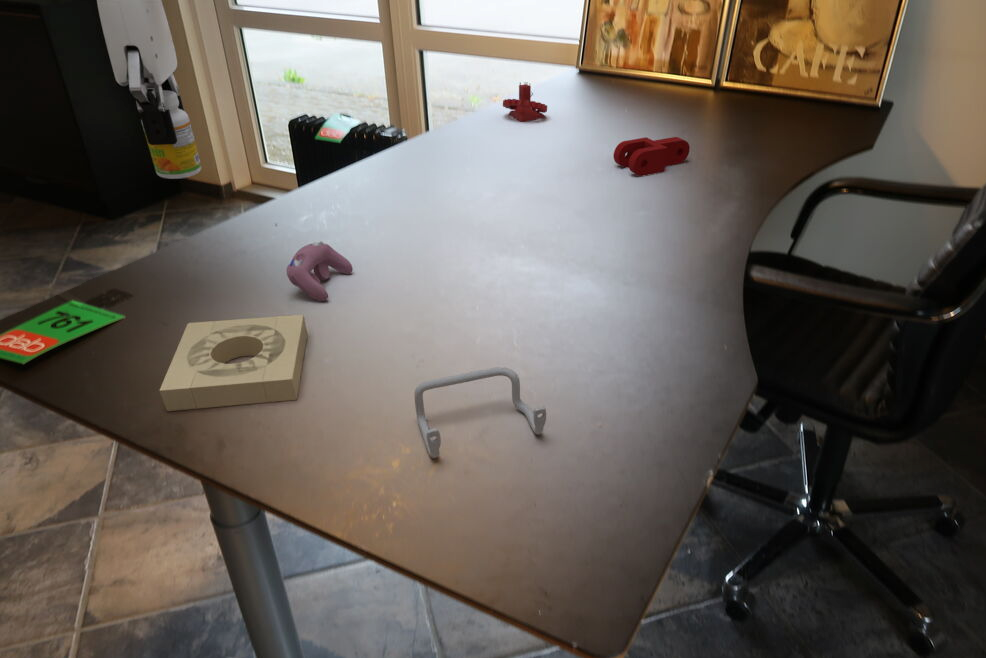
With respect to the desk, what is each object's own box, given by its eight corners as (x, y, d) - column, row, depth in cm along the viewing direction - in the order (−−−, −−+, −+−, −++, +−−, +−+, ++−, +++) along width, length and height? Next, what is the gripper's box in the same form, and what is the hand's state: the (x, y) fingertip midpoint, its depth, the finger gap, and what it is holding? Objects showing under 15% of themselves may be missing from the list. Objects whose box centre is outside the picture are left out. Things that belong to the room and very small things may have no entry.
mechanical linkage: (632, 178, 140) (635, 153, 137) (612, 166, 145) (614, 142, 143) (695, 165, 147) (698, 142, 144) (673, 155, 152) (676, 132, 149)
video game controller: (334, 278, 107) (308, 238, 104) (357, 269, 106) (331, 228, 102) (303, 310, 99) (274, 268, 96) (328, 301, 98) (299, 258, 95)
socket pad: (166, 411, 78) (159, 390, 77) (194, 342, 90) (187, 322, 88) (296, 399, 81) (292, 378, 79) (307, 334, 92) (303, 314, 90)
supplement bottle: (147, 173, 90) (124, 95, 85) (185, 162, 94) (165, 86, 88) (173, 182, 88) (150, 102, 82) (211, 170, 91) (191, 93, 86)
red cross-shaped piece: (552, 112, 176) (553, 77, 172) (541, 126, 167) (542, 89, 162) (511, 108, 178) (511, 74, 173) (497, 122, 169) (497, 86, 164)
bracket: (429, 466, 73) (426, 431, 69) (414, 416, 78) (410, 382, 75) (546, 439, 76) (548, 405, 73) (523, 393, 82) (523, 359, 79)
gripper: (109, -38, 84) (153, 117, 94) (59, -18, 70) (117, 160, 81) (177, -37, 85) (213, 115, 96) (140, -18, 71) (187, 157, 82)
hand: (168, 134), depth 88 cm, fingers closed on supplement bottle, 5 cm apart
